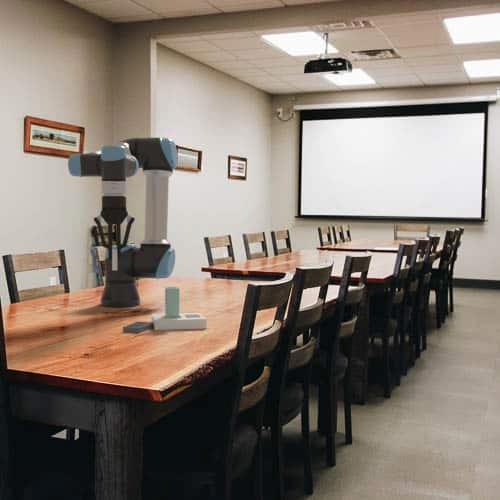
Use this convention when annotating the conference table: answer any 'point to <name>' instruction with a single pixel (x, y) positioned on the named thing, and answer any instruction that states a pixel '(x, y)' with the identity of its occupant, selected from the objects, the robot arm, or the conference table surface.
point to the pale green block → (171, 302)
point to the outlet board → (179, 321)
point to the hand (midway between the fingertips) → (114, 269)
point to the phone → (138, 327)
